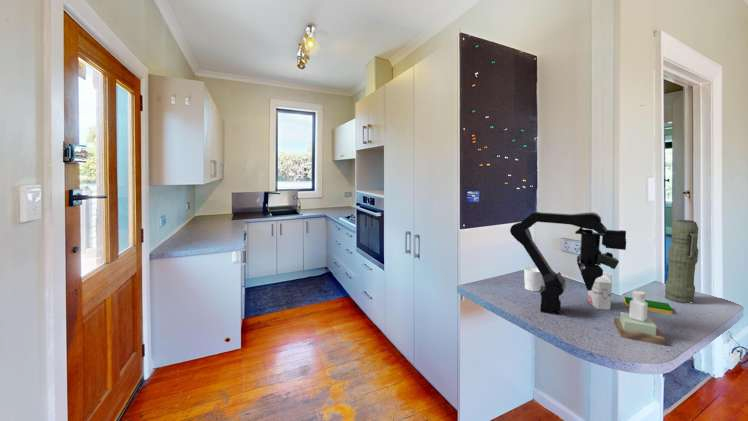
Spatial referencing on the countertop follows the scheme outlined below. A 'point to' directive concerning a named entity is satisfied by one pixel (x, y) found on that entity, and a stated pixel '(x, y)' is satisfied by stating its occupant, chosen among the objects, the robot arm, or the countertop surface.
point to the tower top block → (638, 324)
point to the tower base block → (639, 334)
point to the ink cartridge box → (601, 292)
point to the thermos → (682, 262)
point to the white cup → (532, 278)
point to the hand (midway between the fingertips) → (587, 286)
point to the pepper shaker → (638, 306)
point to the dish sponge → (653, 305)
